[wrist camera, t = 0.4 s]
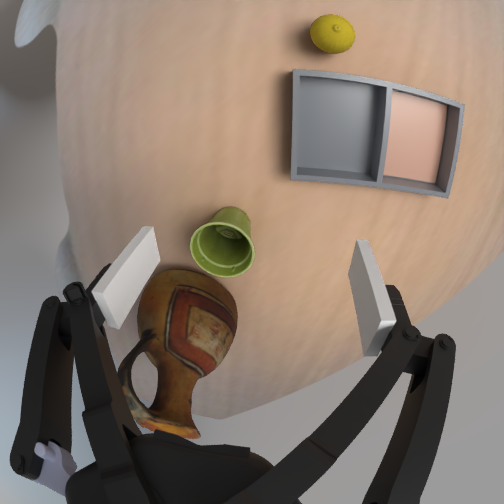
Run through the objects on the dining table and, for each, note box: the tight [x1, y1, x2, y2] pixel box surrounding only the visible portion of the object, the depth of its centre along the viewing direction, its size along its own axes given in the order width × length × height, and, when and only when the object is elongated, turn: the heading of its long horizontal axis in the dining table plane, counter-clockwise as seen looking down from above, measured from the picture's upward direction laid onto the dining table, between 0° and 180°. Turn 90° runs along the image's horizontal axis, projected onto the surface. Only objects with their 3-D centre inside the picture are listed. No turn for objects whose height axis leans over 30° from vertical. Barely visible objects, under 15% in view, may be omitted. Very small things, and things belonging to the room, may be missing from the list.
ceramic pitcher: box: [117, 270, 238, 439], centre depth 45 cm, size 20×20×30 cm
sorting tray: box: [290, 69, 465, 198], centre depth 32 cm, size 15×25×4 cm, turn 91°
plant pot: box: [190, 207, 255, 278], centre depth 42 cm, size 9×9×9 cm
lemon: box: [310, 14, 355, 54], centre depth 24 cm, size 6×6×8 cm
